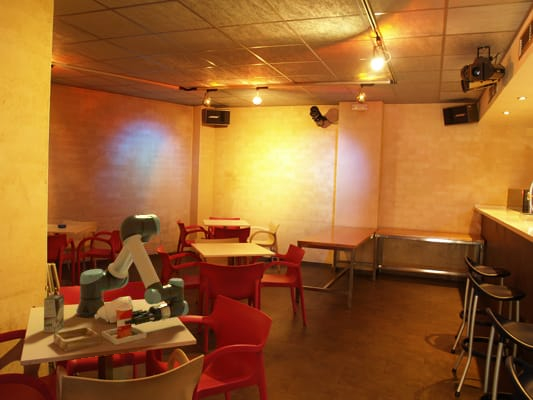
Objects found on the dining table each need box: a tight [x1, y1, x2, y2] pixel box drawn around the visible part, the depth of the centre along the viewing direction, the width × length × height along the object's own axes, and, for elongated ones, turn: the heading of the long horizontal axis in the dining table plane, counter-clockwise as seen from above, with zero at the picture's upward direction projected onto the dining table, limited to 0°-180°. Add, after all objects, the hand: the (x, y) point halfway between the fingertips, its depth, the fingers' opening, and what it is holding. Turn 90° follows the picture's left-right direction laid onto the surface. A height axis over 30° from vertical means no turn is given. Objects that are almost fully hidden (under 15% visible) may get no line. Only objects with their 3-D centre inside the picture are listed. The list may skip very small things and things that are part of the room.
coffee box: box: [43, 294, 65, 333], centre depth 220 cm, size 9×6×16 cm
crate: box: [53, 326, 101, 353], centre depth 203 cm, size 15×15×4 cm
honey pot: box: [94, 295, 134, 323], centre depth 234 cm, size 13×13×18 cm
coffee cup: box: [115, 303, 135, 339], centre depth 213 cm, size 8×8×15 cm
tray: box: [101, 325, 147, 346], centre depth 213 cm, size 15×15×2 cm
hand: (114, 321), depth 209 cm, fingers closed on coffee cup, 7 cm apart
